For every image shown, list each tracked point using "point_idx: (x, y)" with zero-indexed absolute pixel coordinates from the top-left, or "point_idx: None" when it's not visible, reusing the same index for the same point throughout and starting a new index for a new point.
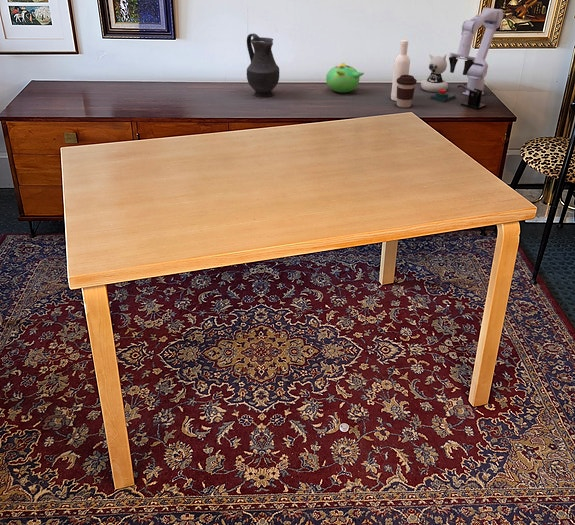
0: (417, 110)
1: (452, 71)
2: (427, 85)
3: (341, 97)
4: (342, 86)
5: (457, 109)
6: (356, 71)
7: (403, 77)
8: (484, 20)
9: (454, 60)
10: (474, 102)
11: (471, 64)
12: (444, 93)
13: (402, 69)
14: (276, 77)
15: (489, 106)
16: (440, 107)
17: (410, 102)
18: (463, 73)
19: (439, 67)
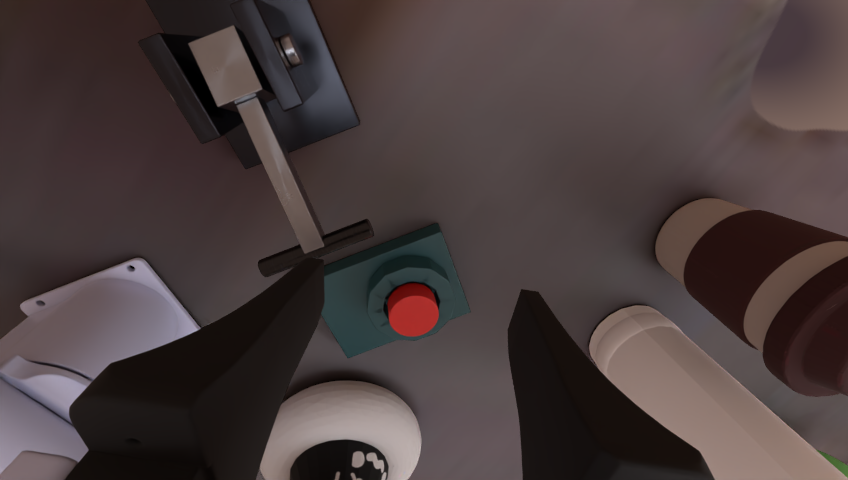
0: (697, 133)
1: (545, 303)
2: (413, 432)
3: (801, 402)
4: (825, 454)
5: (442, 45)
6: None
7: None
8: None
9: (674, 439)
10: (282, 18)
11: (181, 354)
12: (410, 285)
13: (838, 472)
14: None
15: (110, 4)
16: (525, 135)
17: (713, 210)
18: (318, 305)
19: None
